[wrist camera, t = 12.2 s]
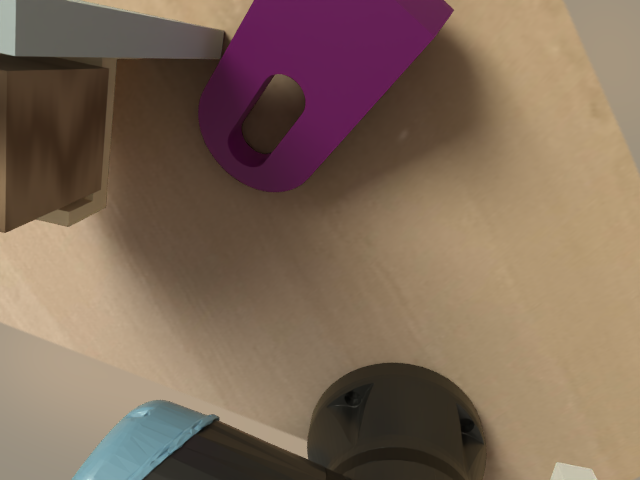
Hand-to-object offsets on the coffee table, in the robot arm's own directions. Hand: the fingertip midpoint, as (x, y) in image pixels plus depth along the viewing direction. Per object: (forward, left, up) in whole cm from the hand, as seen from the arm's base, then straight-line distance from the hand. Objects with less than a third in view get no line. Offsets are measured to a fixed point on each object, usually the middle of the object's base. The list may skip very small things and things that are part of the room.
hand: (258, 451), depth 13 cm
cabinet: (+1, +19, -25) cm, 31 cm away
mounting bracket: (+7, +4, -32) cm, 33 cm away
